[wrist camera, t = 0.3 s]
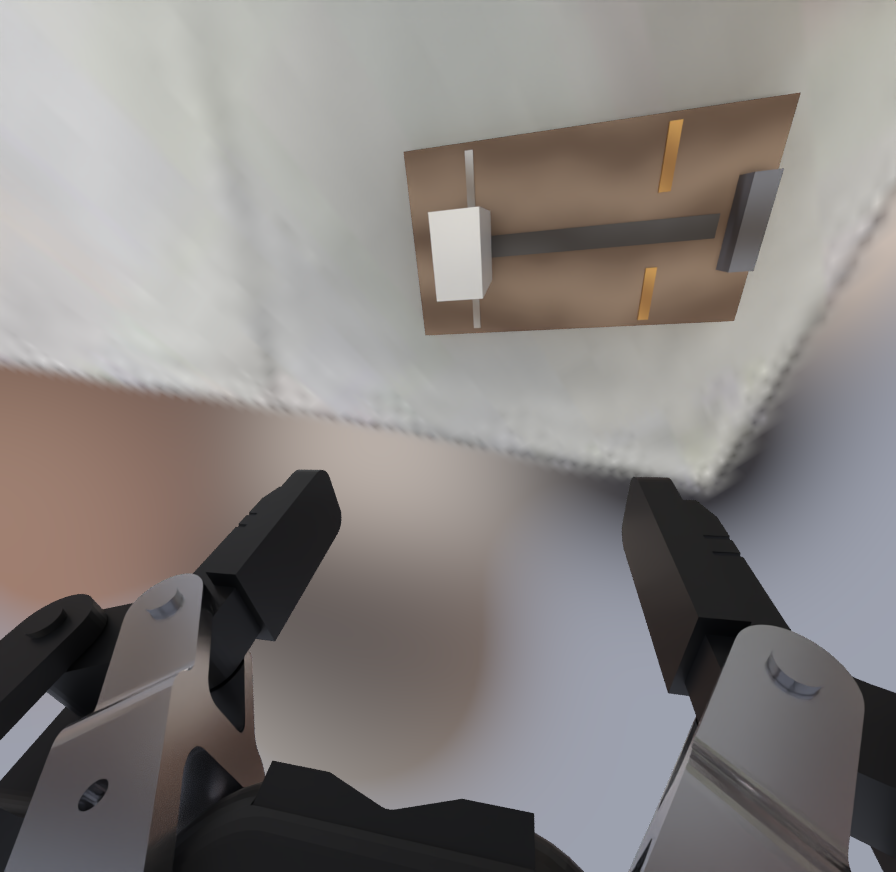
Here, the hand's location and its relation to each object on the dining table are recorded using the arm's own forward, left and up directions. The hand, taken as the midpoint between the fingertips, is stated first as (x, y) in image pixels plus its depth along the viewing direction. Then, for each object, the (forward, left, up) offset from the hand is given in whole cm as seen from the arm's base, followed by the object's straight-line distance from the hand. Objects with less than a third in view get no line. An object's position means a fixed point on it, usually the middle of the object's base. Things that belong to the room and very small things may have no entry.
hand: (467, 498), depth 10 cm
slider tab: (-5, -3, -26) cm, 26 cm away
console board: (-5, +5, -28) cm, 29 cm away
